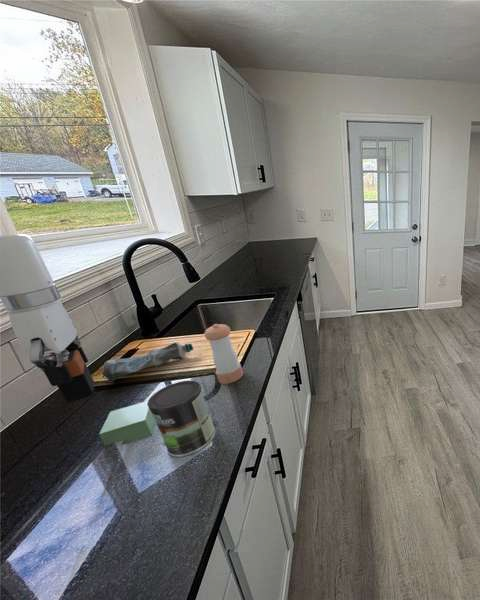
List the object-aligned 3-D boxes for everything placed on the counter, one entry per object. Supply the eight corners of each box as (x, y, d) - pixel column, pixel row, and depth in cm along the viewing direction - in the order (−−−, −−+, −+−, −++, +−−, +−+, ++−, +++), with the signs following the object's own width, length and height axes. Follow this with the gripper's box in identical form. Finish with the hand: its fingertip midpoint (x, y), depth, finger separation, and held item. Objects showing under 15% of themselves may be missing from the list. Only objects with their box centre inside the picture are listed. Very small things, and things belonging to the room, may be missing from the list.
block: (107, 450, 76) (98, 434, 74) (117, 426, 83) (110, 411, 82) (152, 435, 80) (145, 419, 78) (158, 413, 87) (152, 399, 85)
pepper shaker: (228, 370, 106) (212, 319, 99) (247, 371, 105) (233, 319, 98) (213, 383, 99) (195, 329, 92) (234, 384, 98) (217, 330, 91)
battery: (66, 404, 66) (44, 364, 63) (69, 390, 71) (48, 352, 68) (94, 395, 69) (74, 356, 65) (95, 382, 74) (76, 345, 70)
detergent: (104, 390, 99) (195, 362, 110) (94, 370, 96) (188, 344, 108) (113, 373, 110) (195, 349, 121) (105, 355, 107) (189, 332, 119)
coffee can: (188, 462, 71) (168, 413, 66) (157, 451, 75) (136, 403, 69) (225, 429, 80) (210, 384, 75) (196, 421, 84) (180, 377, 78)
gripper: (30, 289, 68) (66, 359, 74) (-26, 318, 53) (26, 402, 59) (75, 283, 71) (106, 350, 77) (34, 308, 56) (77, 389, 63)
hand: (71, 372), depth 68 cm, fingers closed on battery, 7 cm apart
